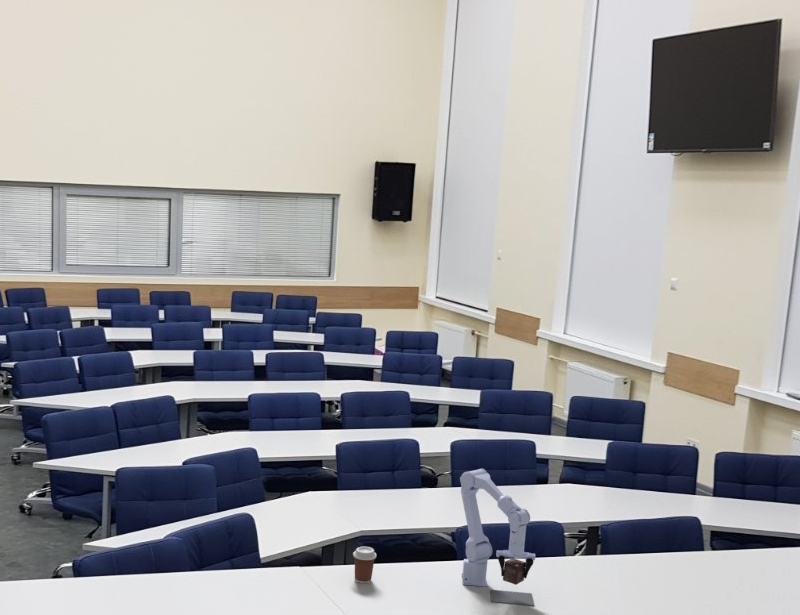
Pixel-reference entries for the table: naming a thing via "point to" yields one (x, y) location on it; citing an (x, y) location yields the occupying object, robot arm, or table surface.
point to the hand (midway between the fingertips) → (513, 576)
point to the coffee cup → (364, 564)
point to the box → (514, 571)
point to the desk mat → (511, 597)
